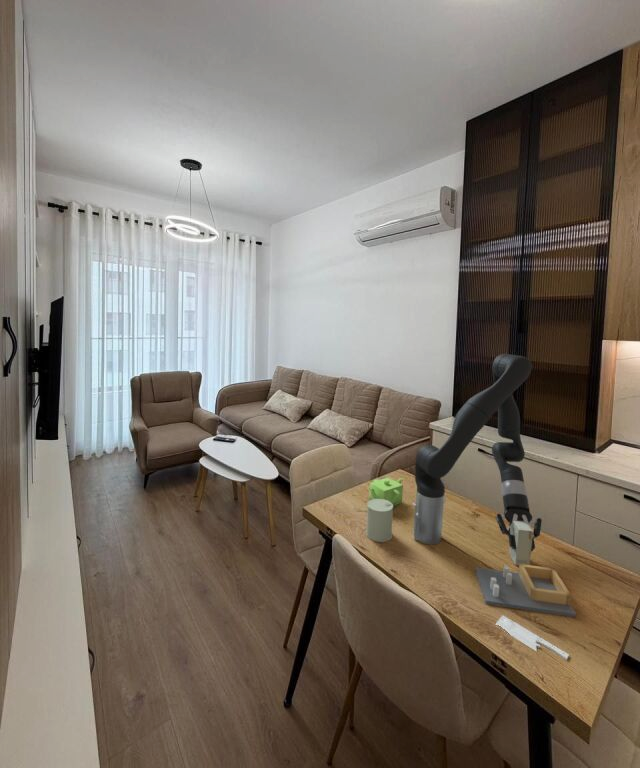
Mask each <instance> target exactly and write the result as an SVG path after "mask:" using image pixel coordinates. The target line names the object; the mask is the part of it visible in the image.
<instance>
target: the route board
mask: <svg viewBox="0 0 640 768" xmlns="http://www.w3.org/2000/svg"><path fill="white" fill-rule="evenodd" d="M474 571H475V573H476V577H477V580H478V583H479V587H480V591H481V593H482V596H483V600H484V603H485V604H486V605H492V606H498V607H504V608H505V607H506V608H511V609H519V610H524V611H531V612H537V613H538V612H539V613H543V614H544V613H545V614H551V615H558V616H565V617H572V618H576V617H577V613H576V612H575V610H574V608H573V606H572V605H571V599H572V594H571V592H570V591H569V590H568V588H567V587H566V585H565V584H564V582H563V580H562V579H561V577H560V576H559V574H558V573H557V571H556V570H555V568H554V567H545V566H537V565H532V564H530V565H523V564H519V566H518V572H515V571H510V567H509V566H508V565H506V566H505V565H504V566H503V569H502V570H501V569H500V570H499V569H490V568H483V567H477V566H475V567H474Z"/></svg>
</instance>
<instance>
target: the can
mask: <svg viewBox="0 0 640 768" xmlns="http://www.w3.org/2000/svg"><path fill="white" fill-rule="evenodd" d="M366 505H367V507H366V530H365V534H366V537H367V538H368V539H370V540H371V541H373V542H377V543H383V542H384V543H385V542H389V541H390V540H391V539H392V537H393V533H392V530H393V511H394V506H393V504H392V503H391V502H389V501H387V500H384V499H372V500H370V501H369V500H368V501H367V503H366Z"/></svg>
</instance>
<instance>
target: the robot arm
mask: <svg viewBox="0 0 640 768" xmlns="http://www.w3.org/2000/svg"><path fill="white" fill-rule="evenodd" d="M532 366H533V365H532V362H531V360H530V359H529V358H528V357H526V356H523V355H517V354H510V353H501V354H498V355H497V356H496V357H495V358H494V359H493V363H492V367H491V370H492V377H493V384H492V385H491V386H489V387H487V388H486V389H484V390H482V391H480V392H478V393H476V394H474V395H473V396H472V397H470V398H469V399H468V400H467V401H466V402H465V403H464V404H463V405H462V407H461V408H460V409H459V410H458V412H457V413H456V414H455V416H454V420H453V424H452V428H451V432H450V435H449V437H448V438H447V439H446V441H445V442H444V444H442V446H441V447H440V448H438V447H436V446H434V445H432V444H425V445H423V446H422V447H420V448H419V450H418V451H417V453H416V455H415V460H414V461H415V463H414V464H415V467H414V471H415V472H414V481H415V484H416V498H415V499H416V500H415V502H416V506H415V507H414V522H413V537H414V538H413V539H414V540H415V541H418V542H420V543H422V544H426V545H437V544H439V543H440V542H441V540H442V533H443V532H442V531H443V518H444V517H443V516H444V502H445V500H444V498H445V492H446V491H445V489H446V488H445V487H446V486H445V485H444V482H443V481H442V478H444V477H445V476H446V475H448V474H449V473H450V471H452V468H454V466H455V464H456V463H457V461H458V460H459V458H460V457H461V456H462V453H463V452H464V450H465V449H466V448H467V447H468V445H469V444H470V443H471V442H472V441H473V439H475V437H476V435H477V434H478V433H479V432H480V431H481V430H482V429H483V427H484V426H485V425H486V424H487V423H488V421H490V419H491V418H492V416H493V415H494V414H495V413H496V411H497V434H498V436H499V437H501V438H504V439H508V440H511V441H512V442H510V441H509V442H508V441H505V442H503V441H498V442H497V441H496V442H495V443H494V444H493V445H492V447H491V454H492V456H493V459H494V461H495V463H496V465H497V467H498V470H499V474H500V481H501V496H502V501H503V502H502V503H503V509H504V512H503V513H497V514H496V515H495V520H496V523H497V525H498V528H499V529H500V532H501V534H503V535H505V536H507V537H508V545H509V548H510V547H512V549H516V541H515V536H514V523H513V521H524V522H527V523H528V524H529V526H530V527H531V524H530V523H531V522H532V525H534V527H533V538H532V547H531V552H533V551H534V550H535V549H536V545H535V539H537V538H538V537H539V536H541V535H540V534H541V529H542V523H543V522H542V521H543V520H542V518H540V517H538V518H536V517H534V516H533V515H532V514H531V512H530V504H529V499H528V492H527V489H526V485H525V480H524V476H523V470H522V468H521V467H520V466H517V465H514V464H511V462H512V463H519V462H522V461H523V460H524V459H525V456H526V455H525V453H526V451H525V449H524V446H523V442H522V439H521V431H520V430H521V425H520V424H521V415H520V411H519V408H518V406H517V403H516V400H515V398H514V396H513V395H514V394H513V393H514V392H515V391H516V390H517V389H518V388H519V387H520V386H521V385H522V384H523V383H524V382H526V380H527V379H528V378H529V376H530V374H531V372H532ZM509 462H510V463H509ZM505 520H506V521H507V522H508V523H509V524H508V528H507V526H506V524H505Z"/></svg>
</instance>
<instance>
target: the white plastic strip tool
mask: <svg viewBox="0 0 640 768" xmlns="http://www.w3.org/2000/svg"><path fill="white" fill-rule="evenodd" d="M495 625H499V626H501V627H502V628H503V629H505V630H506V631H507V632H508V633H509V634H510V636H511V637H512V638H514V639H516V640H517V641H519V642H521V643H522V644H524V645H526V646H527V647H529V648H530V649H532V650H534V651H535V652H538V651H537V648H538V649H539V648H541V646H543V647H545V648H547V649H549V650H551V651H552V652H554V653H555V654H557V655H558V656H560V657H561V658H563V660H565V661H567V660H568V659H569V657H570V654H569V653H567V652H566V651H564V650H562V649H561V648H558V647H557V646H555V645H554V644H552V643H550V642H549V641H547V640H545V638H543V637H540V636H539V635H537V634H535V633H534V632H532V631H530V630H529V629H527V628H525V627H524V626H522V625H520V624H519V623H517V622H515V621H513V620H512V619H510V618H508V617H506V615H501V616H500V618H499V619H498V620H497V621H496V623H495ZM508 633H507V634H508ZM509 634H508V635H509Z"/></svg>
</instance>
